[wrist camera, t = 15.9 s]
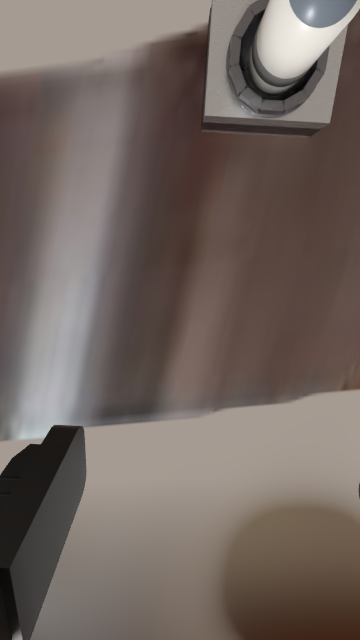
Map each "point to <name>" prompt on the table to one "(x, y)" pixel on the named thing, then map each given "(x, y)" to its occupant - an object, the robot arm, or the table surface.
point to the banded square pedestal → (239, 93)
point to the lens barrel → (294, 40)
